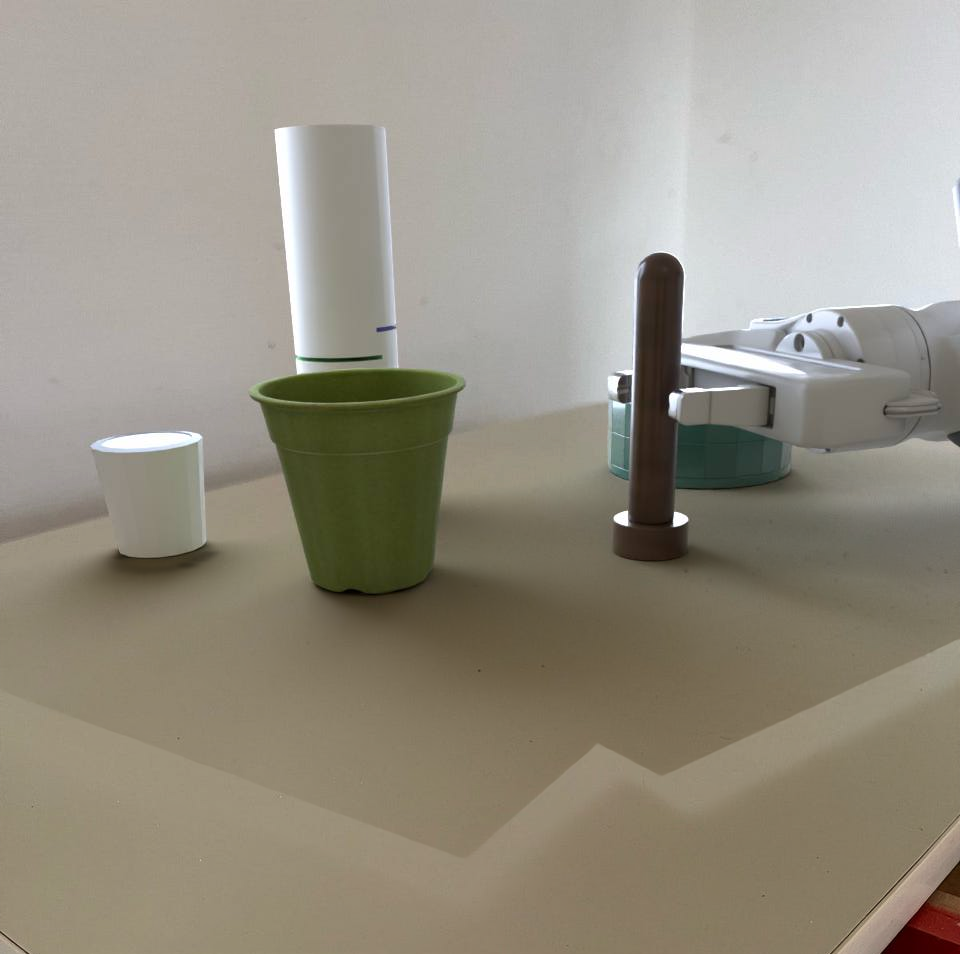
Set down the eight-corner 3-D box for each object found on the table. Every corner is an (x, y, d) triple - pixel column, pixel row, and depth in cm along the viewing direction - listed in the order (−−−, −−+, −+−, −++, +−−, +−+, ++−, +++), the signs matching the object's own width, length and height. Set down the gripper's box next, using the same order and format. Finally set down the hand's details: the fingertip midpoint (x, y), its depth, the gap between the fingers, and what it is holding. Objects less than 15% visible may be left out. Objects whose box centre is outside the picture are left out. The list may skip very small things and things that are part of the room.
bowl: (690, 441, 94) (694, 374, 92) (827, 467, 83) (835, 392, 81) (571, 466, 86) (572, 393, 84) (705, 499, 75) (710, 416, 73)
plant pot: (227, 590, 59) (201, 391, 55) (359, 537, 68) (346, 363, 64) (388, 627, 53) (374, 407, 49) (510, 564, 62) (507, 373, 58)
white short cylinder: (158, 566, 64) (140, 454, 61) (85, 551, 67) (66, 444, 64) (237, 538, 69) (224, 433, 66) (166, 525, 72) (151, 425, 70)
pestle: (648, 534, 67) (659, 249, 60) (702, 550, 64) (719, 250, 57) (597, 548, 65) (602, 253, 58) (650, 565, 61) (662, 253, 55)
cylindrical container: (425, 499, 77) (407, 128, 68) (366, 522, 72) (337, 122, 62) (350, 488, 81) (324, 135, 71) (289, 510, 75) (251, 130, 66)
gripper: (953, 463, 56) (731, 489, 52) (750, 407, 74) (573, 423, 70) (971, 344, 54) (740, 362, 50) (756, 316, 72) (574, 327, 68)
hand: (641, 397), depth 60 cm, fingers open, 7 cm apart
